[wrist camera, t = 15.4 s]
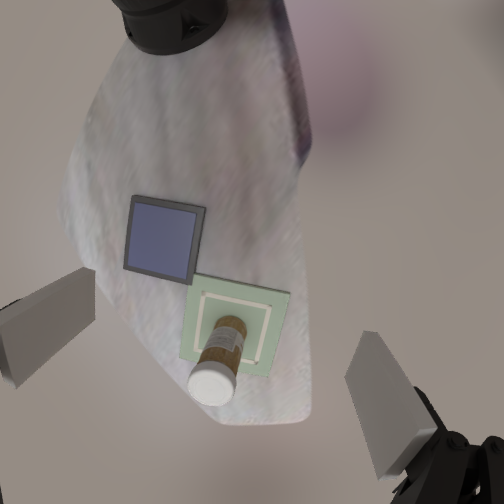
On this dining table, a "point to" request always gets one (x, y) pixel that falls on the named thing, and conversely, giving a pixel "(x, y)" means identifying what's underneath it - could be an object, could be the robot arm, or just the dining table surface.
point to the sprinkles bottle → (219, 363)
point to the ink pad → (163, 239)
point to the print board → (242, 307)
